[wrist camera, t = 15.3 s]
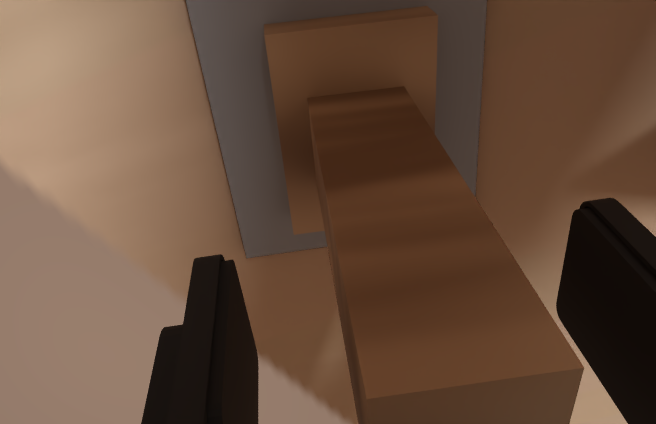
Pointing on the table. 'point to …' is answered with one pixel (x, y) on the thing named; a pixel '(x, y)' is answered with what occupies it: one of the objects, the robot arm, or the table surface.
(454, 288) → the wooden post with base
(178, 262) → the table surface
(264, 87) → the mat
